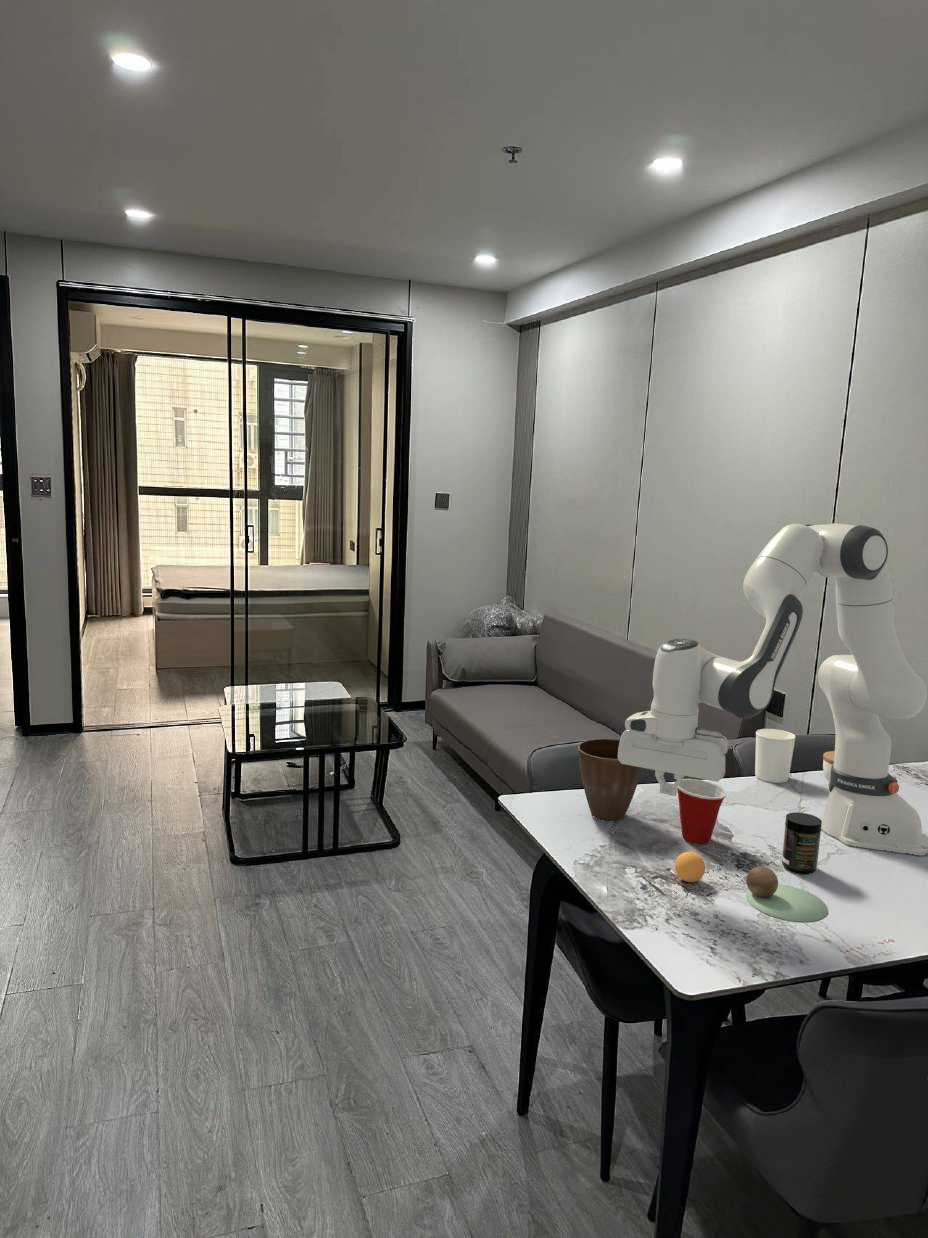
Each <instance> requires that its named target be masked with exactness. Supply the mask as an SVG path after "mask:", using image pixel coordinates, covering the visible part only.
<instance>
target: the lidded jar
mask: <svg viewBox="0 0 928 1238" xmlns="http://www.w3.org/2000/svg"><path fill="white" fill-rule="evenodd" d="M834 754H835V750H831V751H826V752H824V753H823V754H822V757H823V758H822V759H823V760H822V761H823V762H822V771H823V775H824V777H825V779H826V780H827V781H828V783H829V776H830V770H831V767H832V765H834Z"/></svg>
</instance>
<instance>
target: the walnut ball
mask: <svg viewBox="0 0 928 1238" xmlns="http://www.w3.org/2000/svg"><path fill="white" fill-rule="evenodd" d="M745 881H746V886H747V888H748V890H750V891H751V892H752V893H753V894H754V895H756V896H758V897H762V898H766V897H770V896H772V895H773V894H774V893H775V892H776V890H777V888H778V884H779V879H778V877H777V874H776V873H775V872H774V870H772V869H771V868H769V867H767V866H763V865H762V866H761V865H759V866H754V867H753V868H751V869H750V870H749V871H748V872H747V874H746V877H745Z"/></svg>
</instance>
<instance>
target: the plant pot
mask: <svg viewBox="0 0 928 1238" xmlns="http://www.w3.org/2000/svg"><path fill="white" fill-rule="evenodd" d="M619 742H620V739H613V738H612V739H610V738H598V739H595V738H594V739H589V740H585V741H581V742H580V743H579V744H578V748H577V749H578V757H579V758H578V760H579V767H580V768H579V769H580V775H581V781H582V785H583V790H584V794H585V797H586V800H587V801H586V802H587V805H588V808H589V810H590V814H591V816H592V817H593V816H594V817H595V818H594V817H593V818H594V819H596V818H597V819H596V820H598V819H600V820H599V821H602V820H603V821H602V822H608V821H614V822H619V821H621V820H623V819H624V818H625V816H626V814H627V812H628V809H629V807H630V806H631V803H632V801H633V799H634V798H633V797H634V795H635V792H636V790H637V786H638V783H639V779H640V776H641V773H642V769H643V768H642V767H636V766H631V765H626V764H621V763H620V761H619V759H618V748H619Z"/></svg>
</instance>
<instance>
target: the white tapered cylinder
mask: <svg viewBox="0 0 928 1238" xmlns="http://www.w3.org/2000/svg"><path fill="white" fill-rule="evenodd" d="M795 741H796V735H795V734H794V733H792V732H789V731H786V730H783V729H777V728H775V729H774V728H761V729H757V730H756V731H755V757H754V758H755V761H754V763H755V764H754V772H755V773H754V775H755V778H756V779H758V780H760V781H763V782H767V783H773V784H774V783H775V784H782V783H786V782H788V781H789V777H790V773H791V771H790V770H791V767H792V759H793V752H794V748H795Z"/></svg>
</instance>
